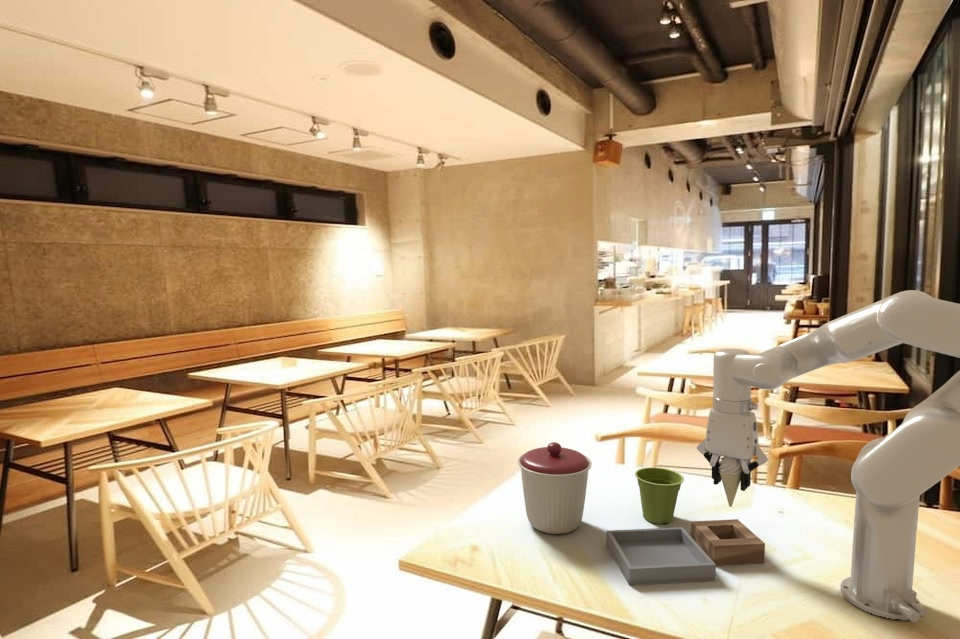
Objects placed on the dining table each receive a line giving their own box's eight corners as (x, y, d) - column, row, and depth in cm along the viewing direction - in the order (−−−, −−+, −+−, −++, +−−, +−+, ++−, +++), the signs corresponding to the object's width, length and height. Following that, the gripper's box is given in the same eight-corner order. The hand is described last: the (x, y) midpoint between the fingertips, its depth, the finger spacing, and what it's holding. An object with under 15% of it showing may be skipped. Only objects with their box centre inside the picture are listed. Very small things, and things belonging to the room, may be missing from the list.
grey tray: (715, 580, 113) (715, 564, 113) (629, 585, 112) (629, 569, 112) (682, 541, 129) (682, 527, 129) (606, 545, 128) (606, 530, 128)
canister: (598, 542, 129) (599, 455, 127) (521, 543, 129) (520, 456, 127) (583, 507, 147) (583, 431, 145) (515, 508, 147) (515, 432, 145)
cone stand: (764, 563, 120) (764, 543, 119) (713, 565, 119) (714, 545, 118) (736, 537, 131) (737, 519, 130) (690, 539, 130) (691, 521, 129)
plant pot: (686, 531, 134) (687, 486, 133) (635, 527, 136) (636, 483, 135) (679, 509, 146) (680, 468, 144) (632, 506, 148) (633, 465, 147)
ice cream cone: (738, 501, 125) (738, 437, 124) (746, 511, 120) (747, 444, 119) (715, 501, 126) (715, 437, 125) (722, 511, 121) (723, 444, 120)
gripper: (779, 407, 118) (777, 489, 120) (698, 397, 129) (698, 472, 131) (769, 415, 113) (768, 501, 114) (686, 403, 124) (686, 482, 126)
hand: (730, 484), depth 123 cm, fingers closed on ice cream cone, 5 cm apart
